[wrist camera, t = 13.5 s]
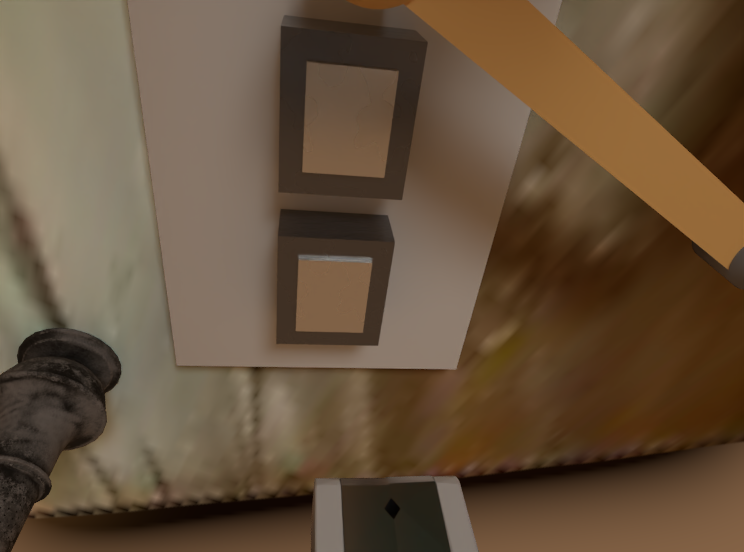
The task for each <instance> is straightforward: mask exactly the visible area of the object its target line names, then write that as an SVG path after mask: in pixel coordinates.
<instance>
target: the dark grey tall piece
mask: <svg viewBox="0 0 744 552" xmlns="http://www.w3.org/2000/svg"><path fill="white" fill-rule="evenodd" d="M17 358H18V364H17V365H15V366H14V367H12V368H10V369H9V370H7V371H5V372H4V373H2V374H1V375H0V552H11V550H12V548H13V546H14V544H15V542H16V540H17V538H18V536H19V534H20V532H21V530H22V527H23V525H24V523H25V521H26V519H27V517H28V515H29V513H30V511H31V509H32V507H33V505H34V503H36V502H38V501H40V500H42V499H44V498H45V497H46V496H47V495H48V494H49V492H50V490H51V487H52V485H51V480H50V478H49V476H50V474H51V472H52V469H53V467H54V465H55V463H56V461H57V459H58V457H59V455H60V454H61V452H62V451H63V450H72V449H76V448H79V447H83V446H85V445H87V444H89V443H91V442H93V441H95V440H96V439H97V438H98V437H99V436H100V435H101V434H102V433H103V430H104V428H105V425H106V423H107V417H106V411H105V409H106V407H105V393H106V392H108V391H109V390H111V389H112V388H113V387H114V386H115V385H116V384H117V383H118V380H119V378H120V375H121V364H120V361H119V359H118V357H117V355H116V354H115V353H114V351H113V350H112V349H111V348H110V347H109V346H108V345H106V344H105V343H104V342H103V341H101V340H100V339H98V338H96V337H94V336H92V335H90V334H87V333H84V332H81V331H77V330H72V329H64V328H55V329H46V330H42V331H39V332H35V333H34V334H32V335H30V336H29V337H27V338H26V339H25V340H24V342H23V343H22V344H21V345H20V347H19V350H18V354H17Z"/></svg>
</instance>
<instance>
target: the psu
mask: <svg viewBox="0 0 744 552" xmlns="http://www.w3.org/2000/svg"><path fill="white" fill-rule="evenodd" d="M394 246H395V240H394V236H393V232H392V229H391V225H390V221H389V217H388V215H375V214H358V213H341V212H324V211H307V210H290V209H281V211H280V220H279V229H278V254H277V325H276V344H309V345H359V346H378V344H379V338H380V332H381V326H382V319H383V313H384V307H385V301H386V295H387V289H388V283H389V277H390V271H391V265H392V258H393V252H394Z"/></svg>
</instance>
